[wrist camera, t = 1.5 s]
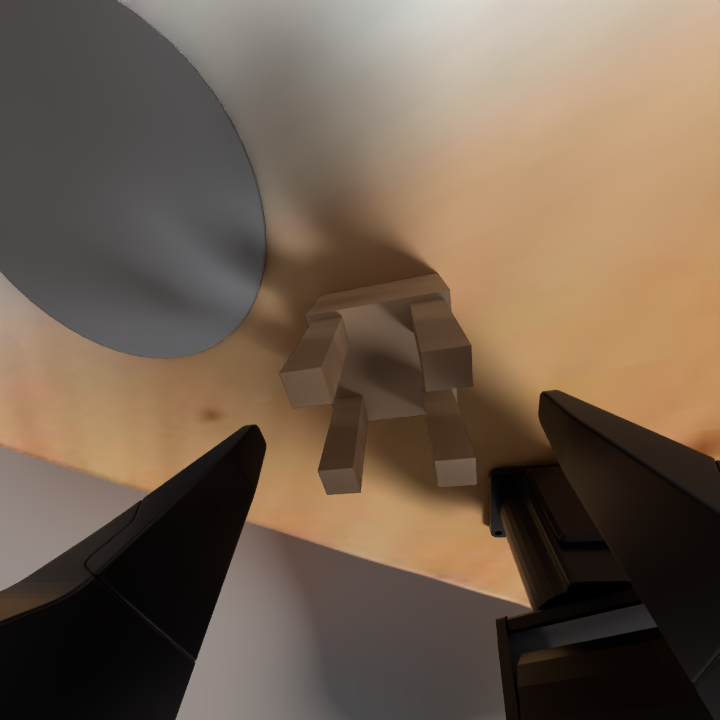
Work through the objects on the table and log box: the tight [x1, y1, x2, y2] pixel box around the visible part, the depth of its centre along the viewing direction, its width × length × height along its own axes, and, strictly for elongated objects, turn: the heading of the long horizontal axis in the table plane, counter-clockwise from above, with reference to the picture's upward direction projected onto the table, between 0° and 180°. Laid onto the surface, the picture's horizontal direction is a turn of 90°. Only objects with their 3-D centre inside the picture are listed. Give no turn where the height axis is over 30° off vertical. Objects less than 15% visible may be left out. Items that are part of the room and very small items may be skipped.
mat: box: [0, 0, 266, 358], centre depth 13 cm, size 14×14×1 cm
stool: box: [279, 273, 477, 495], centre depth 12 cm, size 6×6×7 cm
